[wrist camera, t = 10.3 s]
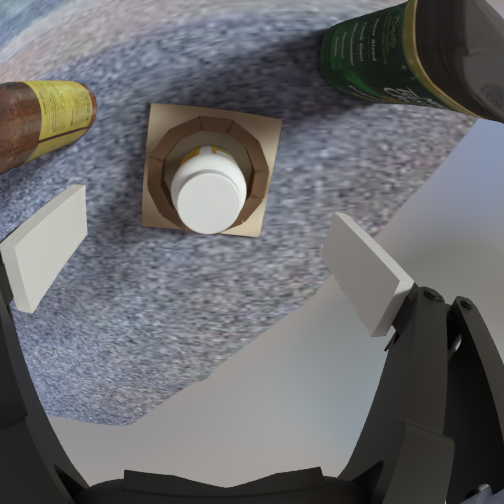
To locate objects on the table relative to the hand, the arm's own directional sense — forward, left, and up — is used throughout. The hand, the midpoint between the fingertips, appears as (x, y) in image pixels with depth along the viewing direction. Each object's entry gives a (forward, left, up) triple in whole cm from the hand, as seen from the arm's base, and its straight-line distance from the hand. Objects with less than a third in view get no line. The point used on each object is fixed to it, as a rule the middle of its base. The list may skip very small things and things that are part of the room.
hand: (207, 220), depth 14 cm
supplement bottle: (0, 0, -13) cm, 13 cm away
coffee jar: (-14, +13, -14) cm, 24 cm away
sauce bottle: (-5, -15, -14) cm, 21 cm away
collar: (0, 0, -14) cm, 14 cm away
